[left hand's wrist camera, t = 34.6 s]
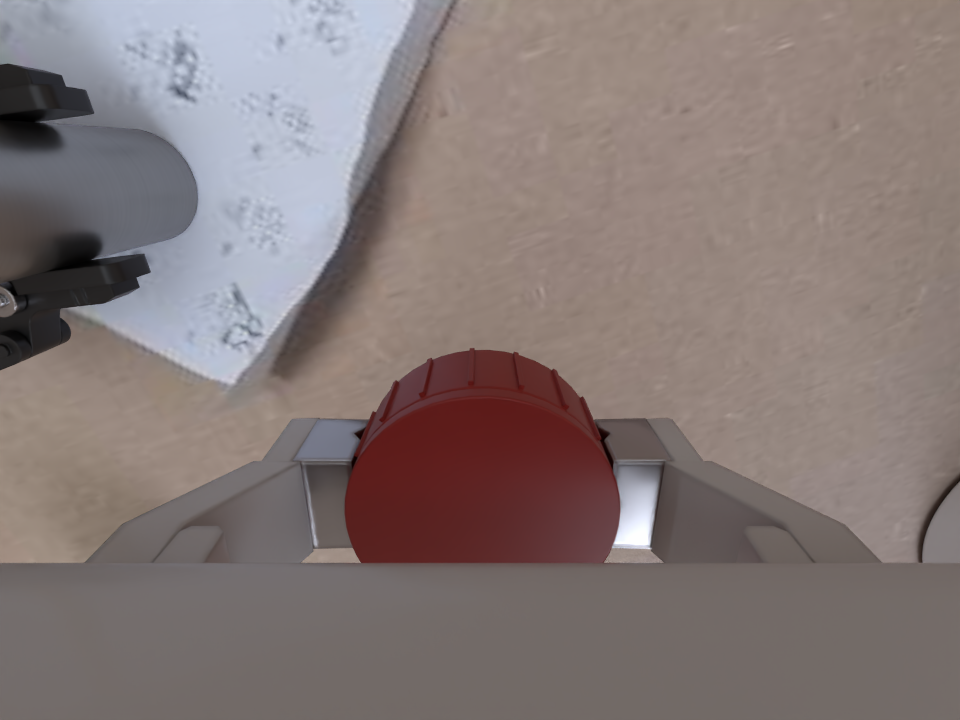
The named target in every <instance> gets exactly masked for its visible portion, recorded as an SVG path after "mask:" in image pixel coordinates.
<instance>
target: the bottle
mask: <svg viewBox="0 0 960 720" xmlns="http://www.w3.org/2000/svg"><path fill="white" fill-rule="evenodd" d="M196 208H197V188H196V184H195V180H194V177H193V175H192V172H191V170H190V168H189V166H188V165H187V163H186V162H185V160H184V159H183V157H182V156H181V155H180V154H179V153H178V152H177V151H176V150H175V149H174V148H173V147H172V146H171V145H170V144H169V143H167V142H166V141H165V140H163V139H161V138H160V137H158V136H156V135H154V134H152V133H149V132H146V131H142V130H137V129H123V128H109V127H96V126H82V125H68V124H54V123H40V122H26V121H12V120H0V284H1V283H5V282H8V281H12V280H16V279H20V278H24V277H27V276H31V275H35V274H39V273H42V272H46V271H50V270H54V269H58V268H61V267H65V266H69V265H73V264H77V263H80V262H84V261H88V260H92V259H96V258H99V257H103V256H107V255H111V254H115V253H118V252H122V251H126V250H130V249H134V248H137V247H141V246H145V245H149V244H153V243H156V242H160V241H164V240H168V239H171V238H173V237H176V236H177V235H179V234H181V233H182V232H183V231H184V230H185V229H186V228H187V227H188V226H189V225H190V223H191V221H192V220H193V217H194V215H195V212H196Z"/></svg>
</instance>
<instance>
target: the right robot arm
mask: <svg viewBox="0 0 960 720" xmlns="http://www.w3.org/2000/svg"><path fill="white" fill-rule="evenodd" d="M90 114H94V111H93V108H92V105H91V102H90V100H89V97H88V94H87V91H86V90H83V89H77V88H70V87H66V86H65V83H64V80H63V78H62V75H58V74H55V73H51V72H48V71H44V70H39V69H33V68H28V67H23V66H18V65H12V64H3V65H0V120H12V121H26V122H40V121H48V120H55V119H62V118H69V117H76V116H84V115H90ZM150 272H151V271H150V269H149V266H148V263H147V260H146V257H145V255H144V254H136V255H128V256H120V257H111V258H103V259H94V260H88V261H84V262H80V263H77V264H73V265H69V266H65V267H61V268H58V269H54V270H50V271H46V272H42V273H39V274H35V275H31V276H27V277H24V278H20V279H16V280H12V281H8V282H5V283H1V284H0V370H2V369H5V368H7V367H10V366H12V365H15V364H17V363H19V362H21V361H24V360H26V359H28V358H31V357H33V356H35V355H37V354H40V353H42V352H44V351H46V350H49V349H51V348H53V347H55V346H58V345H60V344H62V343H64V342H66V341H68V340H69V339H70V336H71V330H70V327H69V326H68V324H67V323H66V322H65V321H64V320H63V319H62V318H60V309H61V308H68V307H77V306H86V305H95V304H103V303H106V302H109V301H111V300H114V299H117V298H119V297H122V296H124V295H127V294H129V293H131V292H133V291H134V290H136V289H138V288H139V284H138V281H137V279H136V277H139V276H142V275H145V274H148V273H150Z"/></svg>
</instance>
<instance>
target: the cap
mask: <svg viewBox="0 0 960 720" xmlns="http://www.w3.org/2000/svg"><path fill="white" fill-rule="evenodd" d="M600 440H601V436H600V434H599V432H598V429H597V427H596V425H595V422H594V420H593V417H592V415H591V413H590V410H589V408H588V406H587V403H586V401H585V399H584V398H583V396H582V397H581V398H580V397H579V396H578V395H577V393H576V392H575V391H574V390H573V388H572V387H571V386H570V385H569V384H568V383H567V382H566V381H565V380H563V379H562V378H561V377H560V376H559V375H558V373H557V371H556V370H555V369H553V370H550V369H549V368H547V367H545V366H543V365H541V364H540V363H538V362H536V361H533V360H531V359H528V358H525V357H523V356H520V355H519V354H518V353H517V352H514V353H513V354H512V353H508V352H502V351H493V350H475V349H474V348H470V351H463V352H456V353H452V354H449V355H445V356H441V357H439V358H436V359H434V360H432V358H430V359H428V360H427V362H426V363H425V364H423V365H421V366H419V367H417V368H416V369H414V370H412V371H411V372H410V373H408V374H407V375H406V376H404V377H403V378H402V379H401V380H400V381H399V382H398V381H397V380H396V381H395V382H394V383H393V385H392V387H391V390H390V391H389V392H388V394H387V395H386V396H385V398H384V399H383V400H382V402H381V404H380V406H379V408H378V410H377V411H376V412H374V411H373V412H372V414H371V417H370V419H369V421H368V424H367V426H366V429H365V431H364V433H363V436H362V438H361V440H360V443H359V445H358V447H357V450H356V452H355V455H354V456H356V457H357V460H356V462H355V465H354V467H353V470H352V472H351V475H350V478H349V481H348V484H347V489H346V494H345V506H344V515H345V522H346V529H347V532H348V535H349V539H350V542H351V545H352V547H353V549H354V551H355V553H356V555H357V557H358V559H359V560H360V562H361V563H604V561H605V560H606V558H607V556H608V555H609V553H610V551H611V548H612V546H613V544H614V541H615V538H616V535H617V531H618V527H619V521H620V512H621V508H620V494H619V490H618V485H617V481H616V478H615V476H614V473H613V470H612V468H611V465H610V463H609V461H608V458H607V456H606V454H605V451H604V449H603V448H604V444H603V442H601V441H600Z"/></svg>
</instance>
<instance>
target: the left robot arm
mask: <svg viewBox="0 0 960 720" xmlns="http://www.w3.org/2000/svg"><path fill="white" fill-rule="evenodd" d="M368 421H369V419H320V418H299V419H292V420H291V421H290V422H289V424H288V425H287V427H286V428H285V429H284V431H283V432H282V433H281V435H280V436H279V438H278V439H277V440H276V442H275V443H274V444H273V446H272V447H271V449H270V450H269V451H268V453H267V454H266V456H265V457H264V458H263V460H262V461H253V462H251V463H249V464H247V465H245V466H242V467H240V468H238V469H236V470H234V471H232V472H230V473H228V474H226V475H224V476H222V477H219V478H217V479H215V480H213V481H211V482H209V483H207V484H205V485H203V486H201V487H199V488H197V489H194V490H192V491H190V492H188V493H186V494H184V495H182V496H180V497H178V498H176V499H174V500H171V501H169V502H167V503H165V504H163V505H161V506H159V507H157V508H155V509H153V510H151V511H149V512H146V513H144V514H142V515H140V516H138V517H136V518H134V519H132V520H130V521H128V522H126V523H123V524H122V525H121V526H120V527H119V528H118V529H117V530H116V531H115V532H114V533H113V534H112V535H111V536H110V537H109V538H108V539H107V540H106V541H105V542H104V543H103V544H102V545H101V546H100V547H99V548H98V550H97V551H96V552H95V553H94V554H93V555H92V556H91V557H90V558H89V559H88V560H87V561H86V562H85V563H0V720H960V482H959V483H958V484H957V485H956V486H955V487H954V488H953V489H952V490H951V492H950V493H949V494H948V495H947V496H946V498H945V499H944V501H943V502H942V503H941V505H940V506H939V508H938V509H937V511H936V513H935V514H934V516H933V518H932V520H931V522H930V525H929V527H928V530H927V533H926V536H925V540H924V544H923V551H922V563H882V562H881V561H880V560H879V559H878V558H877V557H876V556H875V555H874V554H873V553H872V552H871V551H870V550H869V549H868V548H867V547H866V546H865V545H864V544H863V543H862V542H861V541H860V540H859V539H858V538H857V537H856V536H855V534H854V533H853V532H852V531H851V530H850V529H849V528H848V527H847V526H846V525H844V524H842V523H840V522H838V521H836V520H834V519H832V518H830V517H828V516H825V515H823V514H821V513H819V512H817V511H815V510H813V509H811V508H809V507H807V506H804V505H802V504H800V503H798V502H796V501H794V500H792V499H790V498H788V497H786V496H784V495H781V494H779V493H777V492H775V491H773V490H771V489H769V488H767V487H765V486H763V485H760V484H758V483H756V482H754V481H752V480H750V479H748V478H746V477H744V476H742V475H739V474H737V473H735V472H733V471H731V470H729V469H727V468H725V467H723V466H721V465H718V464H716V463H714V462H712V461H703V460H702V458H701V457H700V456H699V454H698V453H697V452H696V450H695V449H694V448H693V446H692V445H691V444H690V442H689V441H688V440H687V438H686V437H685V436H684V434H683V433H682V432H681V430H680V429H679V428H678V426H677V425H676V424H675V422H674V421H673V420H672V419H670V418H654V419H645V418H637V419H595V420H594V422H595V425H596V427H597V429H598V432H599V434H600V436H601V440H600V441H601V442H603V444H604V448H603V449H604V451H605V454H606V456H607V458H608V461H609V463H610V465H611V468H612V470H613V473H614V476H615V478H616V481H617V485H618V490H619V494H620V508H621V512H620V521H619V527H618V531H617V535H616V538H615V541H614V544H613V546H612V548H640V549H651V551H652V552H653V553H654V554H655V555H656V556H657V557H659V558H660V559H661V560H662V561H663V562H664V563H301V562H302V561H303V560H304V559H305V558H306V557H308V556H309V555H310V554H311V553H312V552H313V549H324V548H353V547H352V545H351V542H350V539H349V535H348V532H347V529H346V522H345V515H344V506H345V494H346V489H347V484H348V481H349V478H350V475H351V472H352V470H353V467H354V465H355V462H356V460H357V457H356V456H354V455H355V452H356V450H357V447H358V445H359V443H360V440H361V438H362V436H363V433H364V431H365V429H366V426H367V424H368Z"/></svg>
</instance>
